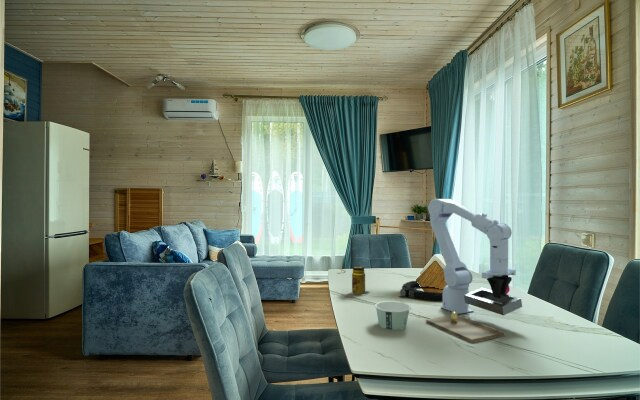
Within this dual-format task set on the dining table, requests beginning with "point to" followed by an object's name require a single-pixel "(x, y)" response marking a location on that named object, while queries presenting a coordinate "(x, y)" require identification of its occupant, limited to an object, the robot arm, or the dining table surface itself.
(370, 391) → the dining table surface
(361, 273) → the condiment
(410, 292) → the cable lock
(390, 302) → the food container
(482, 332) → the board
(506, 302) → the grey shallow tray
